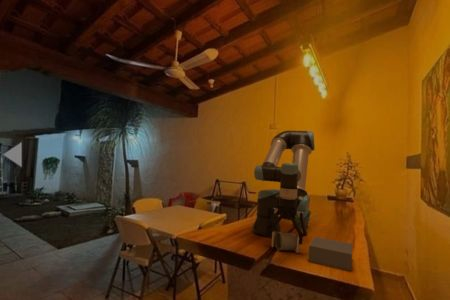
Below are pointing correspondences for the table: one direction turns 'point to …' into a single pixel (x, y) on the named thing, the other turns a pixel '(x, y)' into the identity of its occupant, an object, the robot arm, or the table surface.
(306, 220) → the snack cup
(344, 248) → the slate block
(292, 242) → the ceramic mug
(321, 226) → the table surface
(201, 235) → the table surface
